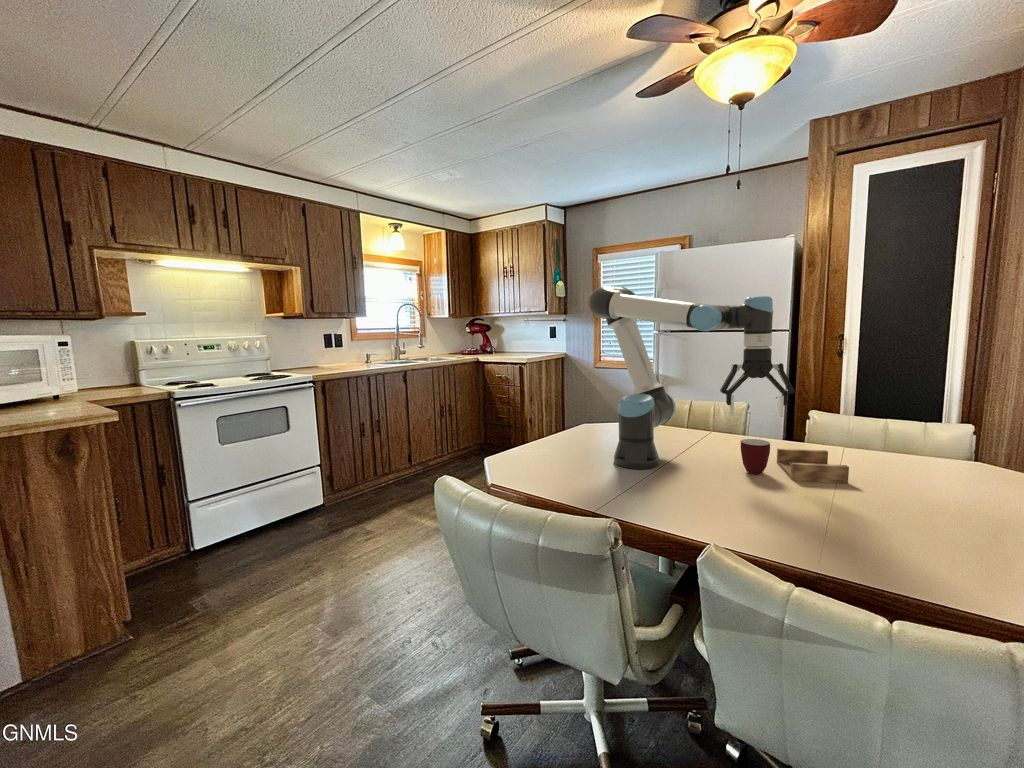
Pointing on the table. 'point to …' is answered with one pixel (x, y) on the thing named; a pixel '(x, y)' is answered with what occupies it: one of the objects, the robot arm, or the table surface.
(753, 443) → the mug
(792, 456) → the rack
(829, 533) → the table surface
